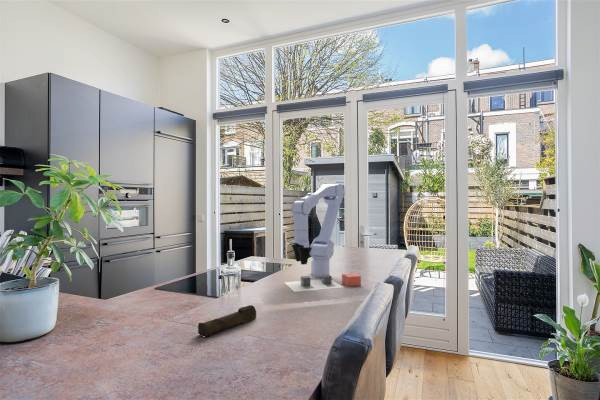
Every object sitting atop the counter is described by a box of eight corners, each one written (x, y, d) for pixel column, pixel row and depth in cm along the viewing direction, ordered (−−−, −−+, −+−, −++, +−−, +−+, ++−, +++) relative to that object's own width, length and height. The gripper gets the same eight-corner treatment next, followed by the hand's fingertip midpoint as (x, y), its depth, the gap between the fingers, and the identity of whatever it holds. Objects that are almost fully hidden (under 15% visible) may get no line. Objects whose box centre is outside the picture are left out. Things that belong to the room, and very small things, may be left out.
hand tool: (204, 340, 89) (204, 322, 89) (197, 336, 92) (196, 318, 92) (261, 321, 103) (261, 305, 103) (253, 318, 106) (253, 303, 106)
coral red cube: (342, 286, 141) (341, 274, 141) (354, 285, 142) (354, 273, 142) (347, 289, 135) (347, 277, 135) (360, 288, 137) (360, 276, 137)
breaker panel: (284, 285, 142) (284, 275, 142) (329, 282, 148) (329, 271, 148) (294, 295, 128) (294, 283, 128) (344, 291, 134) (344, 279, 134)
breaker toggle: (300, 283, 138) (300, 276, 138) (308, 283, 139) (308, 275, 139) (303, 285, 135) (303, 278, 135) (310, 285, 136) (310, 277, 136)
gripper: (287, 228, 148) (287, 260, 148) (296, 231, 134) (297, 266, 134) (302, 228, 150) (303, 259, 150) (314, 231, 136) (314, 265, 136)
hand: (301, 262), depth 142 cm, fingers open, 6 cm apart
